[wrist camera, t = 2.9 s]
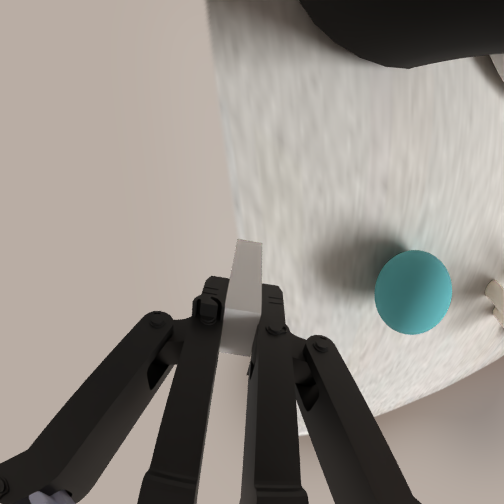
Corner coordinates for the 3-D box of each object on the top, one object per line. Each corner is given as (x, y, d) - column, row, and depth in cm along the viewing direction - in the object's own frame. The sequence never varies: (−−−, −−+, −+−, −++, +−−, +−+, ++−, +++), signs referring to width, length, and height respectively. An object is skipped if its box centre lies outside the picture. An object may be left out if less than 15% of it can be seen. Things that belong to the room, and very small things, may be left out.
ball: (380, 229, 18) (418, 273, 13) (438, 244, 18) (479, 284, 13) (353, 297, 21) (375, 351, 15) (410, 304, 21) (438, 351, 16)
